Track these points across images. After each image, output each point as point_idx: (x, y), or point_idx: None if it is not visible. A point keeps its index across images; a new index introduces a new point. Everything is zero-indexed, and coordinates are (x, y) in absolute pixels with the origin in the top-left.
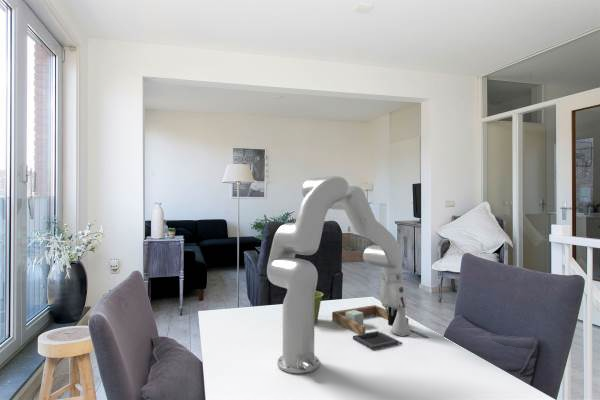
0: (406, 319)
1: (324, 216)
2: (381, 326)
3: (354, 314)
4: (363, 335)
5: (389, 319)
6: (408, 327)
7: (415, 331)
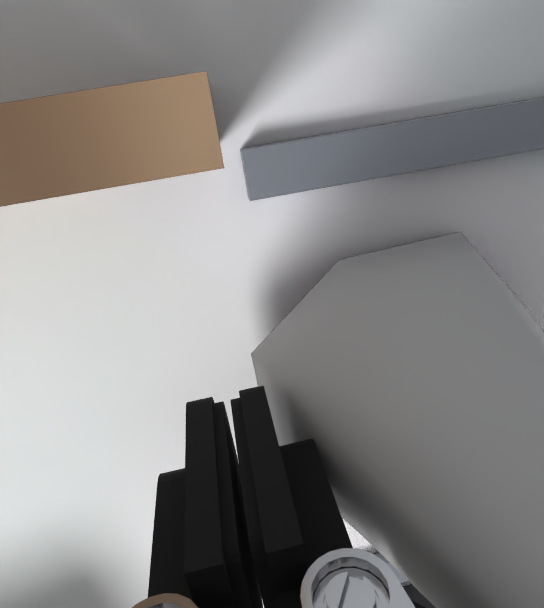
0: (220, 150)
1: None
2: (54, 486)
3: None
4: None
5: (258, 592)
6: (515, 305)
7: (484, 132)
